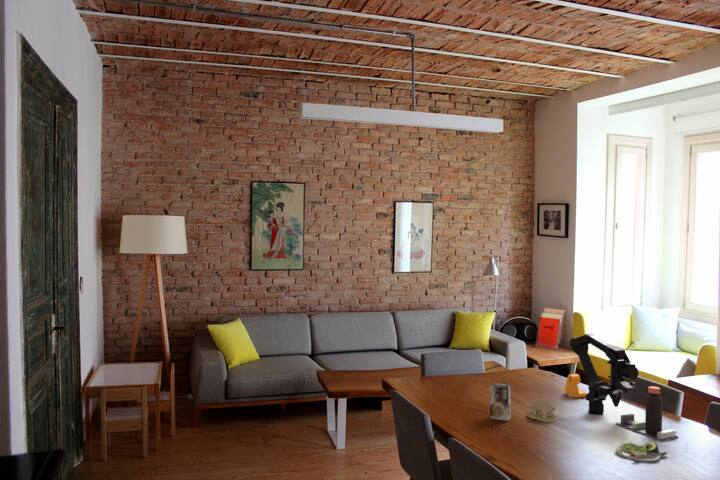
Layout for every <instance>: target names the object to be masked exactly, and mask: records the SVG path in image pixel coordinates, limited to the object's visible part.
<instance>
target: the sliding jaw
mask: <svg viewBox="0 0 720 480" xmlns="http://www.w3.org/2000/svg"><path fill="white" fill-rule="evenodd" d="M634 421H635V414H634V413H627V414H621V415H620V422H621V423H623V424H625V423H628V424H631V425H632V428H634V429H640V428H645V420H641V421H637V422H634Z"/></svg>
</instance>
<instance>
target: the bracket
mask: <svg viewBox="0 0 720 480" xmlns="http://www.w3.org/2000/svg"><path fill="white" fill-rule="evenodd" d="M580 383H581V377H580V374H578V373H573V374H568V375H567V378H566V382H565V385H564V393H565V394H566V395H567V396H568V397H571V398H585V395H586V394H587V393H588V392H585V391H583V390H581V389H579V388H578V387H579V386H578V385H579V384H580Z"/></svg>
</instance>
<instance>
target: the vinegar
mask: <svg viewBox="0 0 720 480" xmlns="http://www.w3.org/2000/svg"><path fill="white" fill-rule="evenodd" d="M647 391H648V392H647V393H648V395H646V397H645V420H644V421H645V431H647V432H649V433H652V434H657V432H660V431H663V398H662V397H661V396H660V395H661V388H660V387H659V386H655V385H653V386H652V385H651V386H648V387H647Z"/></svg>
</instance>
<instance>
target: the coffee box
mask: <svg viewBox="0 0 720 480" xmlns="http://www.w3.org/2000/svg"><path fill="white" fill-rule="evenodd" d="M511 385H512V384H507V383H499V382H498V383H497V382H492V383H491V384H490V386H489V419H490V420H491V419H492V420H499V421H510V419H511V416H512V415H511V405H512V404H511V403H512V402H511V396H512V395H511V394H512V393H511V389H512V387H511Z"/></svg>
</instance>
